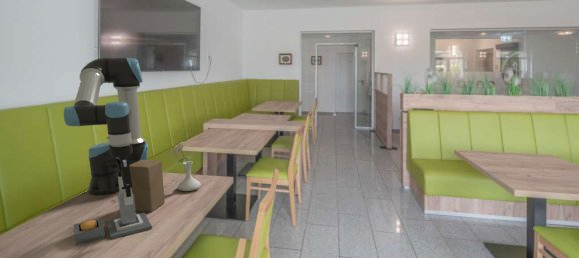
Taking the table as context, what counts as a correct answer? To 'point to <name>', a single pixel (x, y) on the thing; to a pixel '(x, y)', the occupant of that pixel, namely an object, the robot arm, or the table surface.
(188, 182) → the flower in vase
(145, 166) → the wooden block
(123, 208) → the steel billet
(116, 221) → the plate
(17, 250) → the table surface
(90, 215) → the table surface
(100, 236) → the button station
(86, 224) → the button
